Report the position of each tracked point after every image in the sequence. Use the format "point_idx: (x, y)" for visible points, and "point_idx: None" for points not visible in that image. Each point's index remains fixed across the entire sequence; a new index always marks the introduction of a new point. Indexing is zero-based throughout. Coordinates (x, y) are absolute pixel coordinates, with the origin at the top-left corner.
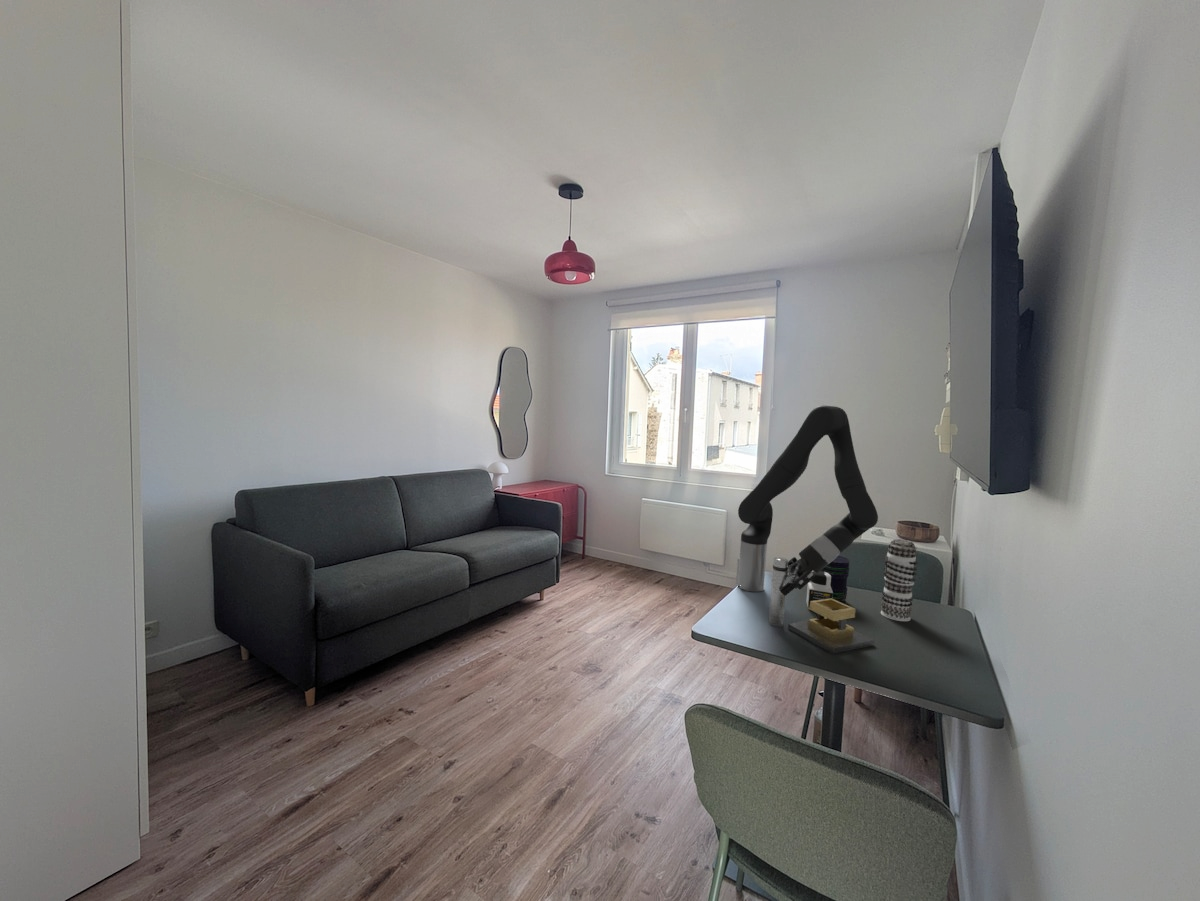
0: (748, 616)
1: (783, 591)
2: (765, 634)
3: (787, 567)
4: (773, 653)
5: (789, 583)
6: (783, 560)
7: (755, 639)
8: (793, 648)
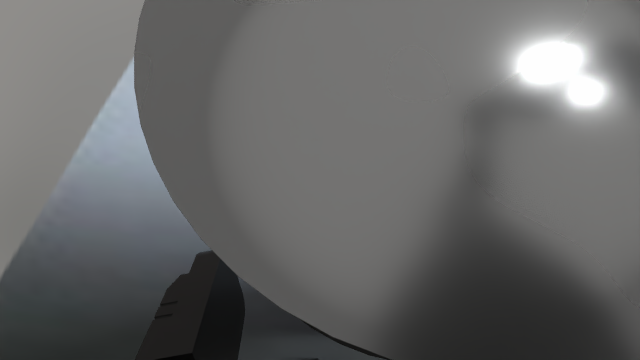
0: None
1: (180, 282)
2: None
3: (340, 341)
4: (21, 246)
5: (162, 358)
6: (317, 99)
7: (146, 180)
8: (78, 350)
